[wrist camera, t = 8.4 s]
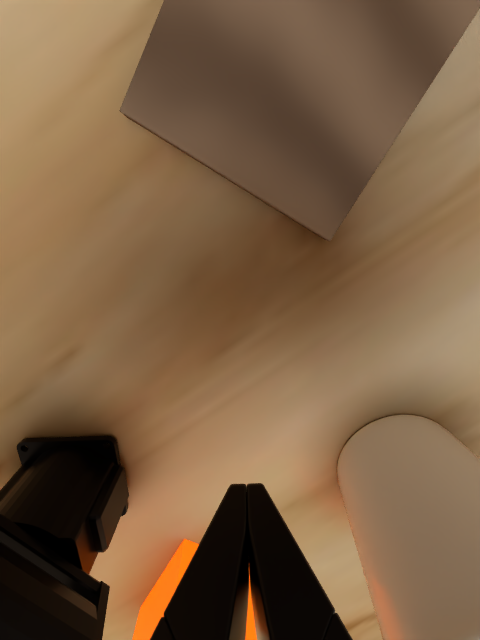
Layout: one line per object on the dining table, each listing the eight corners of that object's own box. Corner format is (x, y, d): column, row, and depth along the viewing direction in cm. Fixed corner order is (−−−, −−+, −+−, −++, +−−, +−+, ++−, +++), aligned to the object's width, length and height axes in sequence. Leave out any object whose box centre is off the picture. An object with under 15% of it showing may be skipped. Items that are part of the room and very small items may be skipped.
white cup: (481, 492, 24) (707, 752, 12) (351, 534, 25) (445, 806, 13) (448, 380, 21) (700, 581, 9) (304, 435, 22) (372, 669, 11)
